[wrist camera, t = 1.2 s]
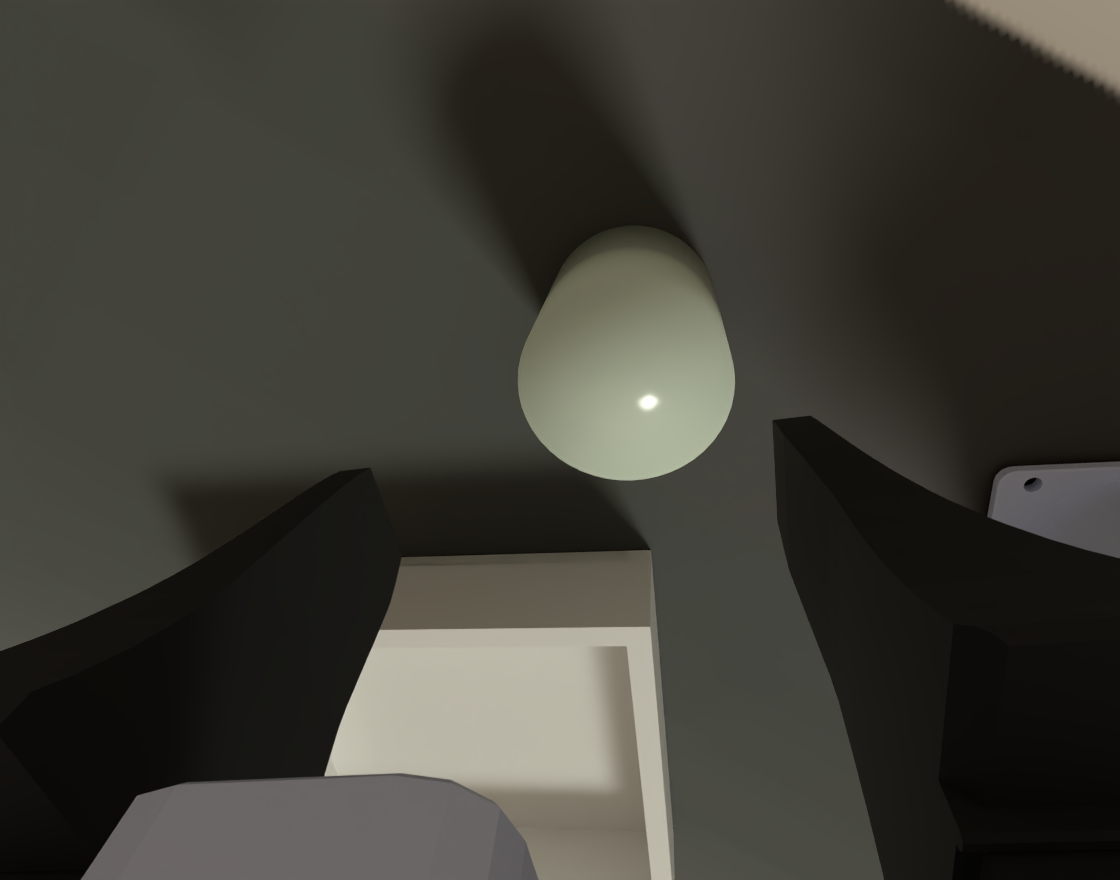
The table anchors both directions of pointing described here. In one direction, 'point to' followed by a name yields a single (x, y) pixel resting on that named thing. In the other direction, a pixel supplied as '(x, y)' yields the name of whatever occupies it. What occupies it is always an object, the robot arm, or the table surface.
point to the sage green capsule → (628, 357)
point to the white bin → (527, 702)
